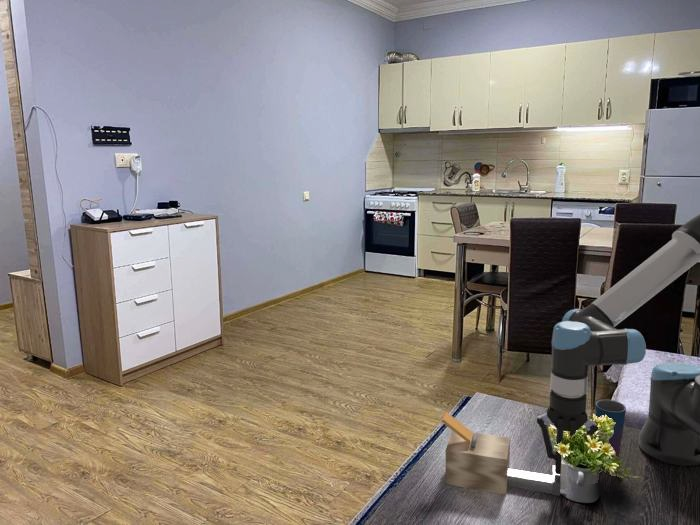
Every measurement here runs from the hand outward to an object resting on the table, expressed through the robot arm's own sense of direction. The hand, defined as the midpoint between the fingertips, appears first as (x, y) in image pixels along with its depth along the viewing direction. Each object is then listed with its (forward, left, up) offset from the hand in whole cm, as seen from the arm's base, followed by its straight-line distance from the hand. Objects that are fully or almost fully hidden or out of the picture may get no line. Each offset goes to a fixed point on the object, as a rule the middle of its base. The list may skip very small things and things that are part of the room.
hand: (563, 486), depth 122 cm
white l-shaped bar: (+10, 0, -2) cm, 11 cm away
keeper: (+24, 0, +10) cm, 26 cm away
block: (+19, 0, -2) cm, 19 cm away
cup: (-11, -17, -2) cm, 20 cm away
